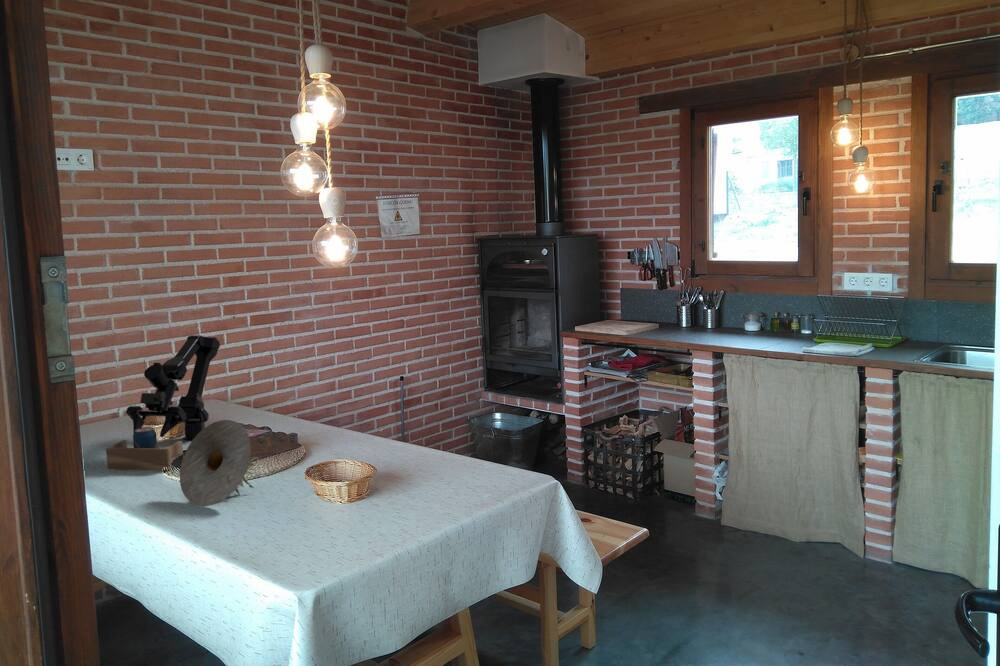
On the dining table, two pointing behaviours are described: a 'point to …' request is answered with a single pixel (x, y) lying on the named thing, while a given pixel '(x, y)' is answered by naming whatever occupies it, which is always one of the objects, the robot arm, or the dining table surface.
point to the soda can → (145, 438)
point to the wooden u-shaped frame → (141, 457)
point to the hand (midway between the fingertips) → (147, 436)
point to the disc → (216, 463)
